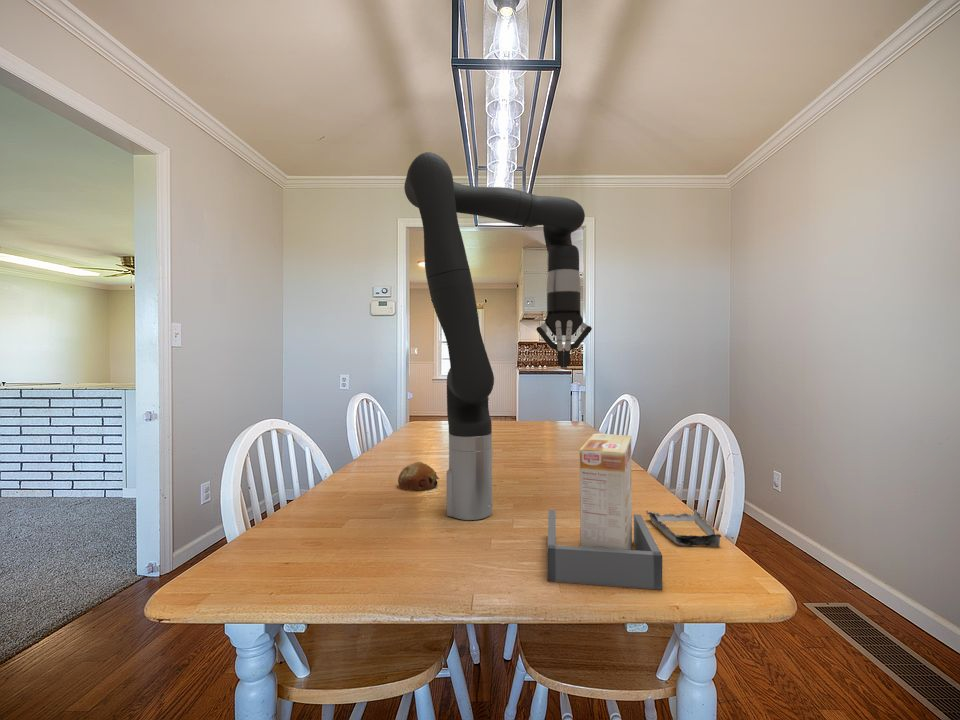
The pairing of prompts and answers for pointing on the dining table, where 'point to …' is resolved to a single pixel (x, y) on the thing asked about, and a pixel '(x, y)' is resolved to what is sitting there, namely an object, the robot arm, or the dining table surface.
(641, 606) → the dining table surface
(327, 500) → the dining table surface
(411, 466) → the bread roll
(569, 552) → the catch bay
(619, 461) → the coffeecake box
